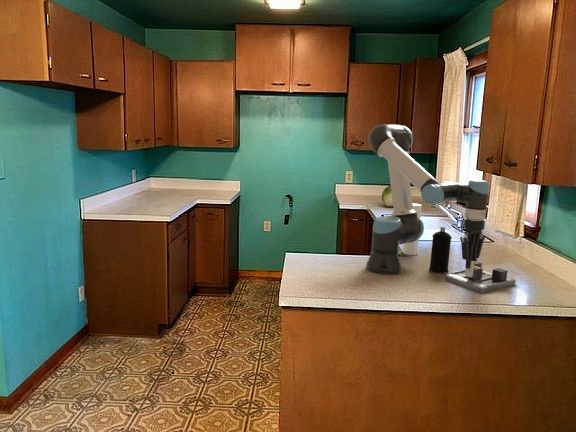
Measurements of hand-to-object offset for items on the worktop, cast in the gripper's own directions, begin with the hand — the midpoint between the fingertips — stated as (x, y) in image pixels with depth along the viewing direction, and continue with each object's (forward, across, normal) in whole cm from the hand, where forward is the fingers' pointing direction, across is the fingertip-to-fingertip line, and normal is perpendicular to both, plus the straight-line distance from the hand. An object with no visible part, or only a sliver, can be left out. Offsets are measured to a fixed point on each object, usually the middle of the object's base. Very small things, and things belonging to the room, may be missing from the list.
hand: (468, 275), depth 191 cm
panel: (+4, +8, 0) cm, 9 cm away
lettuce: (+4, +104, +156) cm, 188 cm away
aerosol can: (+4, +5, +19) cm, 20 cm away
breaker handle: (+2, +4, 0) cm, 4 cm away
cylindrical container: (+4, +14, +46) cm, 49 cm away
